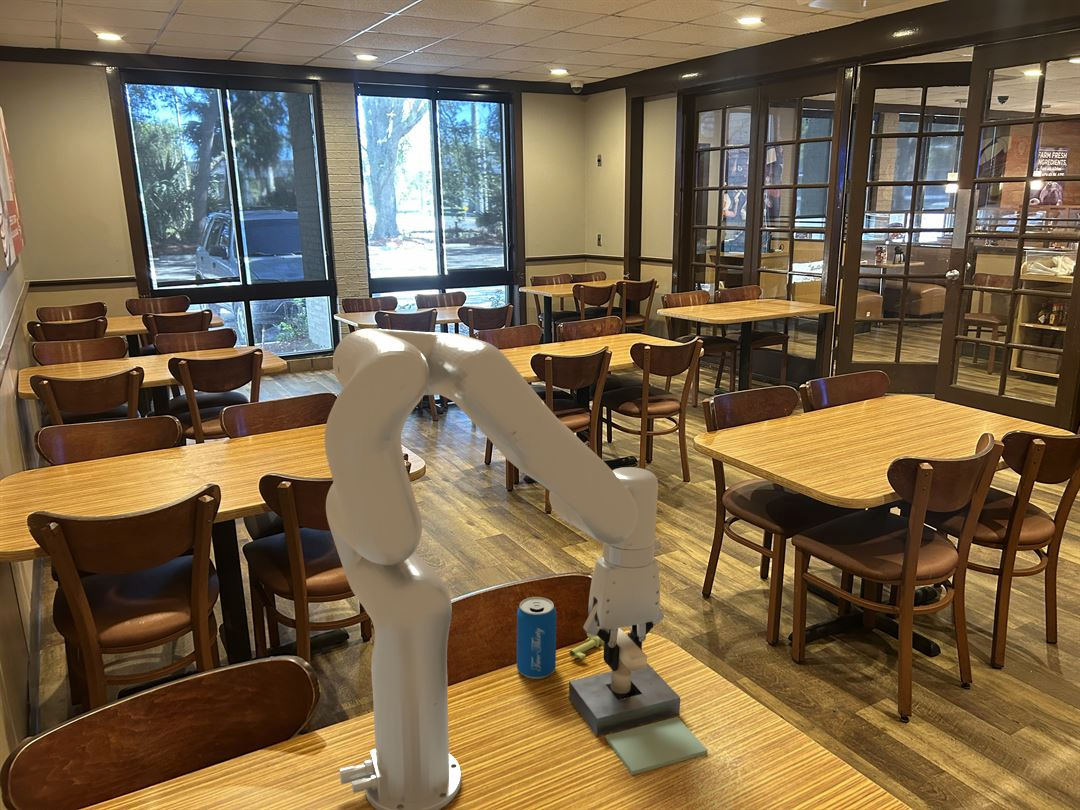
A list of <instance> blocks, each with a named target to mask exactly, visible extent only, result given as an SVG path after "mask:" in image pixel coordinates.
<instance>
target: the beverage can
mask: <svg viewBox="0 0 1080 810" xmlns="http://www.w3.org/2000/svg"><path fill="white" fill-rule="evenodd" d="M556 653H557V610H556V608H555V606H554V602H553V601H552V600H551V599H549V598H546V597H541V596H531V597H527V598H525V599H523V600H522V601H520V603H519V607H518V608H517V611H516V669H517V670H518V672H519V674H521V675H523V676H524V677H526V678H529V679H532V680H542V679H545V678H546V677H549V676H550V675H551V674H552V673H554V672H555V670H556V666H557V665H556V663H557V662H556V661H557V659H556V658H557V655H556Z"/></svg>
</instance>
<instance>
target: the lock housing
mask: <svg viewBox="0 0 1080 810" xmlns="http://www.w3.org/2000/svg"><path fill="white" fill-rule="evenodd" d="M611 674H612V670H611V671H608V672H604V673H599V674H594V675H590V676H587V677H581V678H576V679H573V680H568V699H569V700H570V701H571V703H572V704H573V706H574V707H575V709H576V710H577V712H579V715H580V716H581V717H582V718H583V720H584V721H585V722H586V724H587V726H588V727H589V728H590V730H591V731H592V732H593V734H594V735H595V736H596V737H601V736H606V735H610V734H613V733H617V732H621V731H625V730H629V729H633V728H636V727H640V726H644V725H645V724H646V725H648V724H649V723H650V724H652V723H656V722H659V721H663V720H667V719H671V718H675V717H678V716H680V713H681V712H680V708H681V697H680V696H679V695H678V693H677V692H675V690H674V689H673V688H672V687H671V686H670V685H669V684H668V683H667V682H666V681H665V680H664V679H663V678H662V677H661V675H660V674H658V673H657V671H656V670H654V668H653V667H652V666H651V665H650V664H649V663H648V662H647V667H646V669H641V670H636V671H631V688H630V691H629V692H628V693H624V694H620V693H616V692H614V691H613V690H612V689H611ZM625 696H626V697H625ZM621 697H622V698H621Z"/></svg>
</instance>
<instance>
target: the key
mask: <svg viewBox="0 0 1080 810" xmlns="http://www.w3.org/2000/svg"><path fill="white" fill-rule="evenodd" d="M586 637H587V638H588V639H589V640H588V641H587V642H585V643H582V644H581V645H579V646H577V647H575V648H573V649H571V650H569V651H568V653H569V654H568V655H569V656H570V657H571V658H574V657H576V658H579V660H583V659H585V658H586V657H587V656H586V653H584V652H586V651H588V650H591V649H592V648H598V647H599V645H600V646H603V647H604V641H603V640H602V639H600V638H599V637H598V636H594V635H591V634H588V633H587V632H586ZM594 646H595V647H594Z"/></svg>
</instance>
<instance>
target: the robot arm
mask: <svg viewBox="0 0 1080 810" xmlns="http://www.w3.org/2000/svg"><path fill="white" fill-rule="evenodd" d="M332 357H333V358H332V368H333V373H334V375H335V378H336V380H337V381H338V383H339V384H340V385H341V387H342V389H341V391H340V392H339V394H338V395H337V398H336V399H335V401H334V404H333V406H332V407H331V410H330V412H329V414H328V417H327V420H326V421H327V422H326V424H325V429H324V448H325V450H324V451H325V455H326V459H327V463H328V467H329V471H330V473H331V479H332V484H331V485H330V487H329V490H328V493H327V495H326V499H325V512H326V513H325V514H326V518H327V524H328V526H329V529H330V531H331V536H332V538H333V542H334V545H335V547H336V550H337V554H338V556H339V559H340V562H341V566H342V569H343V571H344V572H343V573H344V574H345V575H344V576H345V577H346V580H347V583H348V585H349V587H350V590H351V591H352V593H353V595H354V596H355V598H356V599H357V600H358V602H359V603H360V605H361V606H362V607H363V609H364V611H365V613H366V614H367V615H368V616H369V618H370V619H371V622H372V625H373V630H374V641H373V646H372V652H371V666H370V667H371V687H372V702H373V706H372V707H373V722H374V723H373V724H374V741H375V742H374V743H375V744H374V746H375V747H374V748H375V749H372V750H370V758H369V759H365V760H363V763H361V764H357V765H351V766H350V765H349V766H345V767H342V768H339V769H338V770H339V771H338V772H339V779H340V785H341V786H342V785H346V784H349V783H351V788H352V793H353V794H357V793H360V792H363V791H365V796H366V798H367V801H368V803H370V805H371V806H372V807H373V808H374V809H375V810H441V809H442V808H444V807H446V806H447V805H448V804H450V803H451V801H453V799H455V797H456V795H458V792H459V791H460V788H461V783H462V770H461V766H460V764H459V762H458V760H457V759H456V758H455V757H454V756H453V755H451V753H450V743H449V742H450V737H449V736H450V735H449V729H450V728H449V699H448V697H449V695H448V694H449V693H448V688H449V687H448V686H449V685H448V662H447V661H448V640H449V631H450V626H451V621H452V614H453V610H452V609H453V606H452V598H451V595H450V592H449V589H448V588H447V586H446V584H445V582H444V581H443V579H442V577H440V575H439V573H437V571H436V570H434V569H433V568H432V567H431V565H429V564H428V563H427V562H426V561H425V559H423V558H422V557H421V556H420V555H419V554H418V553H417V552H416V551H417V549H418V547H419V544H420V542H421V539H422V534H423V525H422V523H423V521H422V517H421V513H420V509H419V506H418V503H417V500H416V497H415V494H414V491H413V490H414V489H413V487H412V483H411V480H410V477H409V473H408V470H407V466H406V461H405V457H404V452H403V447H402V433H403V428H404V427H405V423H406V422H407V420H408V418H409V417H410V415H411V413H412V412H413V411H414V410H415V408H416V407H417V406H418V404H419V403H420V401H421V400H422V399H423V397H424V396H442V397H444V398H446V399H448V400H450V401H451V402H452V403H454V404H455V405H456V406H457V407H458V408H459V409H460V410H461V411H462V412H463V413H464V414H465V415H466V417H467V418H468V419H469V420H470V421H471V422H472V423H473V424H474V425H476V427H477V428H478V429H479V430H480V431H481V432H482V433H483V434H484V436H486V438H487V439H488V440H489V441H490V442H491V444H493V446H494V447H495V448H496V449H497V451H499V452H500V454H501V455H502V456H504V458H505V459H506V460H507V461H508V462H510V463H511V464H512V465H513V466H514V467H516V469H518V470H519V471H521V473H523V474H524V475H526V476H528V477H529V478H530V479H532V480H533V481H535V482H537V483H539V484H540V485H541V486H542V487H544V488H545V489H546V490H548V491H549V497H548V498H549V499H548V500H549V504H550V506H551V508H552V510H553V511H554V513H555V514H556V515H557V516H558V517H559V518H561V519H562V521H563V520H564V521H565V522H567V523H568V524H569V525H571V526H573V527H574V528H577V529H578V530H580V531H582V532H583V533H584V534H586V535H588V536H590V537H591V538H592V539H594V540H596V541H597V542H600V543H602V556H600V557H597V558H596V562H595V564H594V569H593V573H592V578H591V582H590V589H589V597H588V609H587V611H588V613H587V614H588V617H587V619H586V621H585V623H584V624H583V630H584V631H585V632H586V634H587V633H588V634H591V635H594V636H598V637H599V638H600V639H602V640H603V641H604V646H603V662H604V663H605V664H606V665H608V666H607V667H609V668H610V669H611V671H612V670H613V671H617V670H618V663H619V647H618V646H617V645H616V641H617V635H618V628H620V629H621V628H626V627H629V628H630V629H629V630H630V631H629V632H628V633H627V636H628V637H629V638H630V639H631V640H632V641H633V642H634V643H635V644H636V645H637V646H638V647H639V648H640V649H641V650H642V649H643V642H645V641H646V639H647V634H649V632H650V631H651V630H652V629H653V628H654V626H656V625H657V624H658V623H660V622H661V621H663V620H664V618H665V616H664V613H663V611H662V609H661V607H660V606H661V587H660V586H661V585H660V582H661V581H660V573H659V567H658V566H659V565H658V561H657V559H656V557H655V553H656V552H655V551H657V550H660V549H661V548H662V542H661V540H659V539H656V526H657V525H656V524H657V511H658V510H657V509H658V493H659V492H658V491H659V480H658V477H657V476H656V475H655V474H654V472H652V471H650V470H648V469H645V468H640V467H636V466H635V467H633V466H628V467H627V466H625V467H619V468H615V469H611V467H609V465H608V464H607V463H606V462H604V460H603V459H602V458H601V457H599V455H597V453H595V452H594V451H593V450H592V449H591V448H590V447H589V446H588V445H587V444H585V443H584V442H583V441H582V440H581V439H580V438H579V437H578V436H577V434H576V433H574V432H573V431H572V430H571V429H570V428H569V427H568V426H567V425H566V424H564V422H562V421H561V420H560V419H559V418H558V417H557V416H556V414H554V413H553V412H552V410H551V408H549V407H548V406H547V404H546V403H545V402H544V400H543V399H541V397H540V396H539V395H538V394H537V392H536V391H535V390H534V389H533V388H532V387H531V385H530V384H529V383H528V382H527V380H526V379H525V378H524V376H523V375H522V374H521V373H520V372H519V371H518V369H517V368H516V367H515V365H514V364H513V363H512V362H511V361H510V360H509V358H508V357H507V356H506V355H505V354H504V353H503V352H502V351H501V350H500V349H499V348H497V347H496V346H495V345H493V344H491V343H490V342H487V341H483V340H481V339H477V338H474V337H470V336H468V335H465V334H460V333H454V332H453V333H452V332H448V333H447V332H431V331H430V332H429V331H427V332H426V331H414V330H413V331H412V330H399V329H398V330H397V329H383V328H361V329H358V330H355V331H353V332H350V333H349V334H347V335H346V336H344V338H342V339H341V340H340V341H339V343H338V344H337V346H336V347H335V350H334V352H333V356H332ZM598 624H599V625H598ZM642 651H643V650H642Z"/></svg>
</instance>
